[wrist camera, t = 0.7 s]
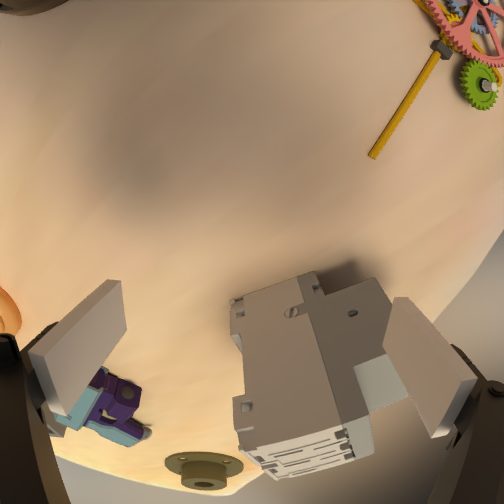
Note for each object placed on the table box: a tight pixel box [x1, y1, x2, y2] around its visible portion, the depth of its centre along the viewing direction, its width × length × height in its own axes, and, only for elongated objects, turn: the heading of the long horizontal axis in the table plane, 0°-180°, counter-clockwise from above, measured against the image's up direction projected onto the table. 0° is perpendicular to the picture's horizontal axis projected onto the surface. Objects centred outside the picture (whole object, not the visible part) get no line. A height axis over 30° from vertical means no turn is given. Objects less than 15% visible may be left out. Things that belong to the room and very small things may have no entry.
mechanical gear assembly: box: [368, 0, 504, 160], centre depth 16 cm, size 30×4×15 cm
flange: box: [165, 452, 243, 490], centre depth 48 cm, size 5×15×15 cm
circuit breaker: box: [230, 271, 409, 480], centre depth 23 cm, size 8×14×15 cm, turn 111°
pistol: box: [52, 366, 152, 447], centre depth 36 cm, size 4×16×15 cm
